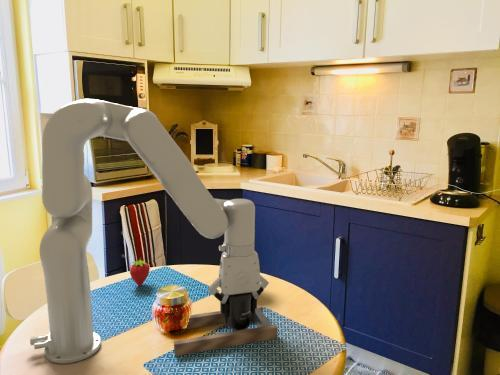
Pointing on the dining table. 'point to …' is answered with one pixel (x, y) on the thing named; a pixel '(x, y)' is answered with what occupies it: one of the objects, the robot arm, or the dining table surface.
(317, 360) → the dining table surface
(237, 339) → the channel
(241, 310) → the supplement bottle
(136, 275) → the strawberry
